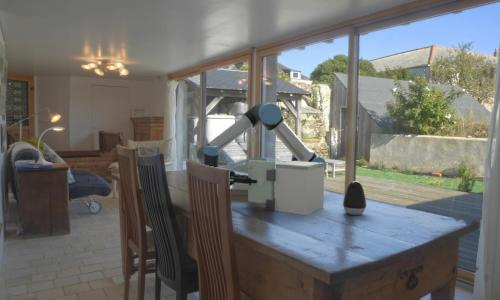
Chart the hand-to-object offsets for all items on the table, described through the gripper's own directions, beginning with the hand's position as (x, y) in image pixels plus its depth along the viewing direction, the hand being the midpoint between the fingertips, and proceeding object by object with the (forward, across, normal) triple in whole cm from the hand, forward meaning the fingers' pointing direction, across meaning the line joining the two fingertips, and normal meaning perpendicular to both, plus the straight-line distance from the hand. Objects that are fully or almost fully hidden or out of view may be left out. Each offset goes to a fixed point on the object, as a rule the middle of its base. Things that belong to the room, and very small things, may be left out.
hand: (265, 181), depth 185 cm
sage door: (-2, 0, -10) cm, 10 cm away
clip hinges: (+4, 0, -13) cm, 14 cm away
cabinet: (+14, -9, -13) cm, 21 cm away
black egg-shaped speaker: (+39, -15, -13) cm, 44 cm away
